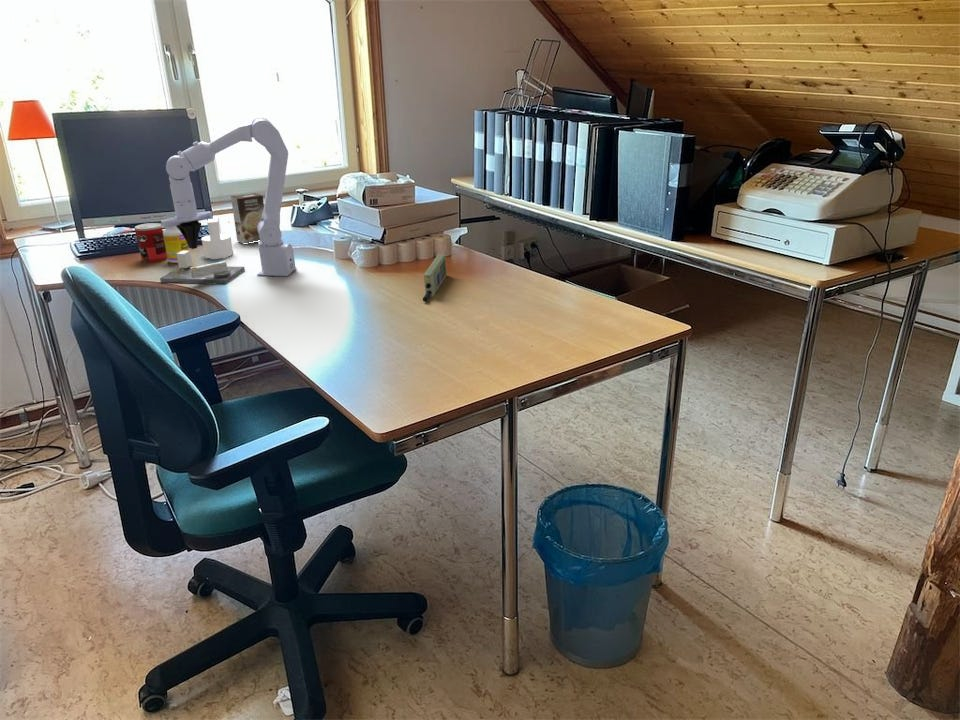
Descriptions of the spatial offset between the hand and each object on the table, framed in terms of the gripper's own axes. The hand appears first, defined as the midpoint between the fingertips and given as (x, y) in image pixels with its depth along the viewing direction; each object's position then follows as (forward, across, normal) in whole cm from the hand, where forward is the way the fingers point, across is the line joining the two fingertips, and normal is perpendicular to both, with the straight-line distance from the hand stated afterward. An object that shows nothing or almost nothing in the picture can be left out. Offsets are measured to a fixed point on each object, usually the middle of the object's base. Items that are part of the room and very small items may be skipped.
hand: (193, 248), depth 200 cm
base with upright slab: (+10, +19, +20) cm, 29 cm away
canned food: (+10, +3, +33) cm, 35 cm away
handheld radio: (+10, +37, -60) cm, 71 cm away
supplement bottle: (+10, +7, +25) cm, 28 cm away
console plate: (+10, +3, +3) cm, 11 cm away
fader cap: (+8, +3, +12) cm, 15 cm away
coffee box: (+10, +36, +27) cm, 46 cm away
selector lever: (+8, +2, -4) cm, 9 cm away
